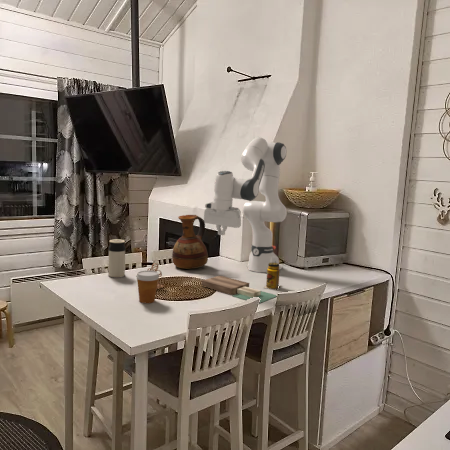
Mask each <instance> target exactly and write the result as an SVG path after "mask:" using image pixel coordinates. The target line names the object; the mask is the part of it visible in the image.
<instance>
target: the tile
mask: <svg viewBox="0 0 450 450" xmlns="http://www.w3.org/2000/svg"><path fill="white" fill-rule="evenodd" d="M261 291H262V290H260V289H256V288H252V287H250V286H249V287H241V288H238V289H237V293H236V294H242V295H245V296H249V297H252V298H253V297H256V296H259V295H261Z"/></svg>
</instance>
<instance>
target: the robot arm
mask: <svg viewBox="0 0 450 450" xmlns="http://www.w3.org/2000/svg"><path fill="white" fill-rule="evenodd" d="M286 157H287V147H286V146H285V144H284V143H282V142H273V141H267V140H266V139H265V138H263V137H261V136H260V137H259V136H257V137H254V138H253V139H252V140H251V141H250V142H249V143H248V144H247V145H246V147H245V148H244V150H243V151H242V153H241V155H240V161H241V164H242V165H243V167H244V168H245V169H246V170H249V171H251V172H252V174H251V177H250V178H246V179H244V178H236V177H234V174H233V172H232V171H229V170H222V171H218V172H216V175H215V178H214V179H215V181H214V197H213V201H210V202H207V203H205V204H204V208H205V209H204V212H203V220H204V222H205V224H210V225H215V227H216V230H217V235H219V236H225V235H226V231H227V229H228V228H235V229H238V228H240V227H241V226H242V216H241V210H240V208H239V207H233V199H235V200H243V201H246V202H245V203H244V204H243V206H242V214H243V216H244V218H245V219H247V221H248V222H249V224H250V227H251V230H252V243H251V247H250V251H251V252H249V257H248V263H247V264H246V267H247V269H248V270H249V271H251V272H256V273H267V269H268V264H269V263H278V264H279V270H282V269H283V266H282V265H280V258H279V257H278V255H277V254H275V252H274V250H276V248H277V247H276V245H273V231H272V230H271V229H270V228H268V226H266V223H267V222H269V223H281V222H284V220H286V218H287V215H288V210H287V207H286V206H285V204H283V203H282V201H281V199H280V196H279V183H280V175H281V167H280V166H281V164H282V162H283V161H284V160H285V159H286ZM259 193H260V194H261V195H262V196H264V197H265V201H260V200H255V199H256V198H257V197H258V195H259ZM265 222H266V223H265ZM221 228H222V229H221Z"/></svg>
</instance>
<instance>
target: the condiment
mask: <svg viewBox="0 0 450 450" xmlns="http://www.w3.org/2000/svg"><path fill="white" fill-rule="evenodd" d="M279 265H280V263H279V264H278V263H269V264H268V269H267V272H266V284H265V286H264V287H263V288H264V289H267V288H269V290H273V289H274V290H276V289H277V290H276V291H280V289H281V287H283V285H280V273H281V271H280V270H281V269H280V270H279ZM279 285H280V286H279ZM278 286H279V288H280V289H278Z"/></svg>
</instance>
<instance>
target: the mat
mask: <svg viewBox="0 0 450 450" xmlns="http://www.w3.org/2000/svg"><path fill="white" fill-rule="evenodd" d="M260 291H261V295H259V296H256V297H259V298H260V299H261V300H260V303H259V304H262V303H264V302H267V301H269V299H270V300H272V299H274V297H275V298H276V295H277V294H273V293H271V292H266V291H262V290H260ZM233 297H234V298H237V299H240V300H245V301H247V299H250V298H252V297H249V296H245V295H242V294H238V293H236V294H233V295H232V298H233ZM271 298H272V299H271ZM261 302H262V303H261Z"/></svg>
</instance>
